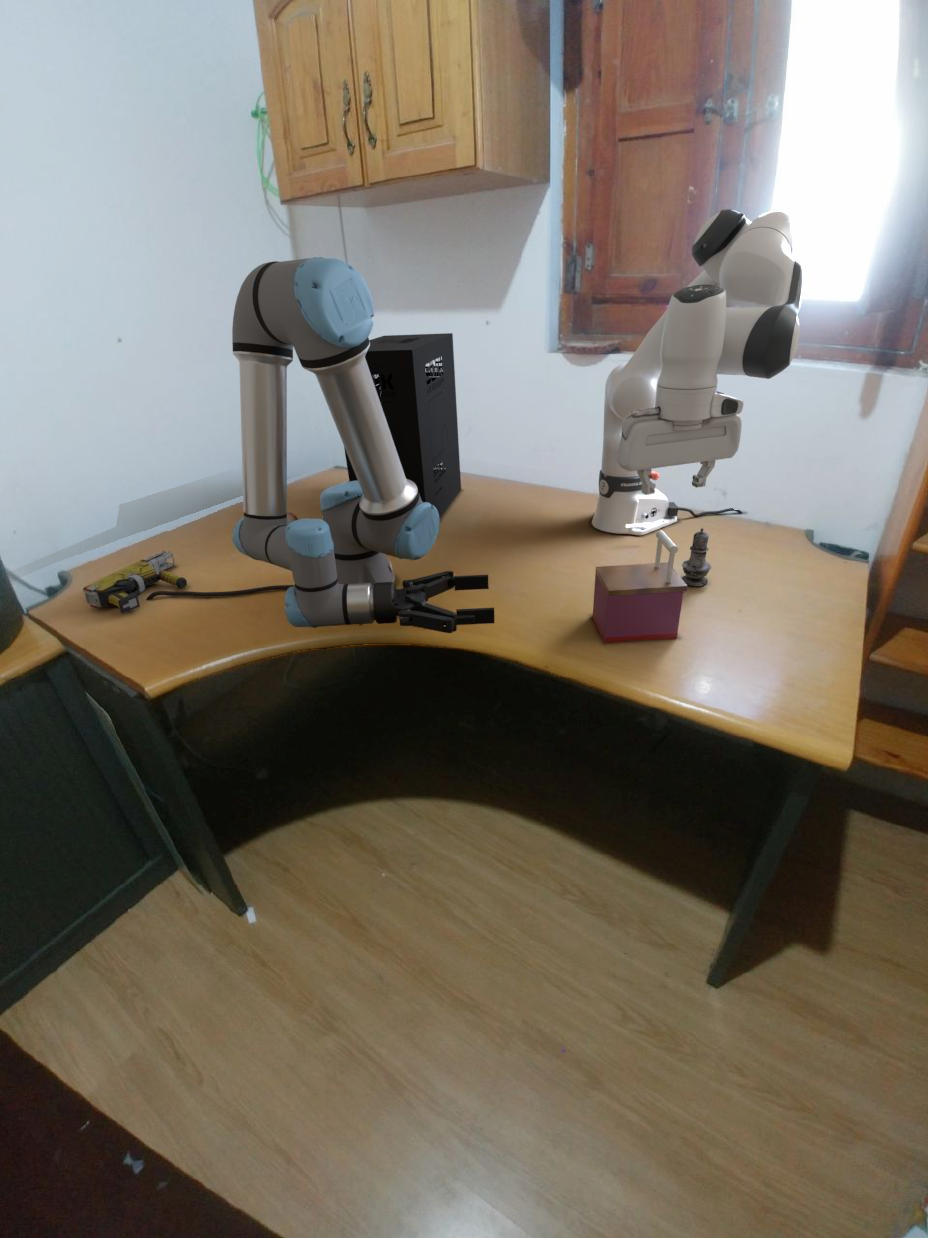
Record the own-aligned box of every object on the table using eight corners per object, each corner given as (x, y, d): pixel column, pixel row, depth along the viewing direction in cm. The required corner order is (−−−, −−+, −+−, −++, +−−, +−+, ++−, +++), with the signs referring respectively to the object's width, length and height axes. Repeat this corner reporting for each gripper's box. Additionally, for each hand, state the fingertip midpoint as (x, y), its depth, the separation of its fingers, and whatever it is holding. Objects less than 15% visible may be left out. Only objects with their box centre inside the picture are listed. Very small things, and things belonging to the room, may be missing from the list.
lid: (668, 567, 114) (673, 526, 110) (686, 591, 105) (693, 547, 101) (595, 572, 114) (598, 531, 110) (608, 596, 105) (611, 553, 101)
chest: (659, 611, 119) (665, 567, 114) (676, 638, 110) (683, 591, 105) (592, 616, 119) (595, 572, 114) (604, 642, 110) (608, 596, 105)
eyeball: (273, 537, 164) (268, 516, 161) (287, 528, 169) (282, 508, 166) (291, 539, 161) (286, 518, 158) (305, 530, 166) (301, 510, 163)
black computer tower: (428, 534, 159) (412, 349, 137) (356, 531, 164) (329, 352, 141) (461, 489, 191) (452, 333, 168) (400, 488, 195) (384, 335, 173)
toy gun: (211, 559, 145) (160, 548, 149) (132, 601, 125) (76, 587, 129) (214, 576, 147) (164, 565, 151) (137, 620, 127) (82, 606, 131)
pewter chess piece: (710, 587, 126) (720, 533, 120) (681, 586, 127) (688, 532, 121) (706, 574, 131) (715, 522, 125) (678, 573, 132) (685, 522, 126)
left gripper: (381, 591, 122) (486, 586, 122) (369, 657, 100) (497, 651, 100) (378, 557, 118) (485, 552, 119) (364, 618, 96) (497, 611, 97)
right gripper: (633, 414, 90) (625, 503, 97) (753, 401, 94) (737, 487, 101) (613, 407, 95) (607, 492, 102) (728, 394, 99) (714, 477, 106)
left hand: (491, 597), depth 110 cm, fingers open, 13 cm apart
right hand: (673, 489), depth 101 cm, fingers open, 8 cm apart
